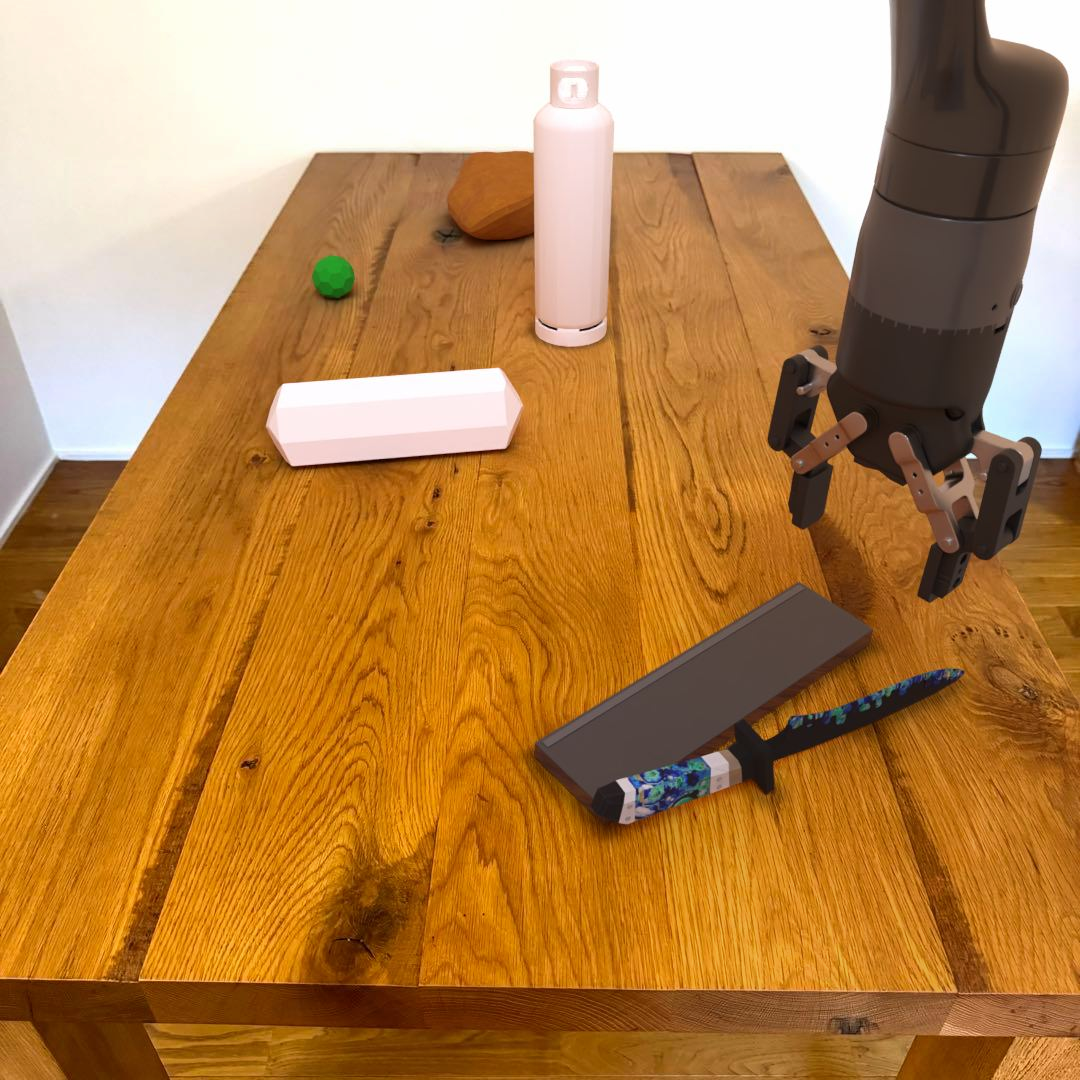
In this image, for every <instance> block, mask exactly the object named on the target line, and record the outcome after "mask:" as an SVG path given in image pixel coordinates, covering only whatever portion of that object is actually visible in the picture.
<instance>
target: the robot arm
mask: <svg viewBox="0 0 1080 1080" xmlns="http://www.w3.org/2000/svg"><path fill="white" fill-rule="evenodd" d="M888 5H889V7H888V8H889V29H890V30H889V34H890V35H889V37H890V93H889V94H890V95H889V103H888V109H887V114H886V120H885V125H884V128H883V134H882V139H881V143H880V150H879V154H878V160H877V164H876V171H875V175H874V181H873V186H872V190H871V194H870V198H869V202H868V205H867V208H866V210H865V213H864V216H863V220H862V222H861V226H860V229H859V232H858V236H857V241H856V245H855V253H854V257H853V262H852V267H851V273H850V279H849V283H848V289H847V294H846V300H845V305H844V310H843V316H842V320H841V326H840V332H839V336H838V343H837V348H836V354H835V363H834V362H832V361H830V360H829V353H828V351H827V349H826V348H825V347H824V346H823V345H820V344H816V345H813V346H811V347H809V348H807V349H805V350H803V351H801V352H798V353H797V354H795V355H792V356H790V357H787V358H785V360H784V361H783V363H782V367H781V372H780V376H779V381H778V386H777V390H776V396H775V400H774V404H773V409H772V413H771V419H770V424H769V429H768V432H767V436H766V437H767V438H766V439H767V440H766V441H767V444H768V446H769V447H770V449H771V450H773V451H774V452H783V453H784V454H785V455H786V456H787V457H788V459H790V466H791V469H792V470H793V472H792V473H793V474H792V479H791V486H790V491H789V496H788V502H787V506H788V511H789V514H791V516H792V517H791V525H793V526H794V527H797V528H799V529H800V530H802V531H804V530H806V529H808V528H810V527H811V526H812V525H814V524H816V523H817V522H819V521H820V520H821V519H822V518H823V516H824V514H825V512H826V511H825V510H826V507H827V506H826V505H827V501H828V496H829V490H830V485H831V480H832V476H833V471H834V465H832V464H831V463H829V460H831V459H833V458H834V457H835V456H837V455H839V454H840V453H842V452H844V450H846V449H847V450H848V452H849V453H850V454H851V455H852V456H853V462H854V463H855V464H858V465H860V466H861V467H863V468H866V469H870V470H875V471H878V472H880V473H881V474H882V475H883V476H885V477H886V478H887V479H888V480H890V481H891V482H893V483H894V484H897V485H899V486H901V487H904V486H906V485H907V486H908V489H909V491H910V495H911V496H912V500H913V502H914V505H915V507H916V510H917V511H918V512H919V513H920V514H924V515H925V516H926V517H927V520H928V522H929V525H930V528H931V530H932V533H933V536H934V538H935V542H934V543H932V544H931V545H930V549H929V551H928V554H927V558H926V562H925V565H924V569H923V571H922V572H923V573H922V576H921V579H920V583H919V587H918V590H917V593H916V595H917V598H920V599H922V600H923V601H925V602H927V603H928V604H931V603H933V602H934V601H936V600H937V599H938V598H939V599H941V600H942V599H944V598H945V597H946V596H948V595H949V594H950V593H952V592H953V591H955V590H956V589H957V588H958V587H960V585H961V584H962V583H963V580H964V578H965V574H966V571H967V568H968V565H969V561H970V559H971V556H972V554H973V555H974V556H975V557H976V558H977V559H979V560H981V561H990V560H991V559H992V558H994V557H995V556H997V554H999V552H1001V551H1002V550H1004V549H1005V548H1006V547H1007V546H1009V545H1011V544H1013V543H1014V542H1015V541H1017V540H1018V539H1019V538H1020V535H1021V531H1022V529H1023V525H1024V524H1023V523H1024V520H1025V516H1026V513H1027V510H1028V505H1029V501H1030V499H1031V498H1030V497H1031V494H1032V490H1033V486H1034V483H1035V479H1036V475H1037V472H1038V468H1039V465H1040V460H1041V457H1042V452H1043V449H1042V445H1041V443H1040V441H1039V440H1037V439H1036V438H1035V437H1032V436H1024V437H1022V438H1020V439H1019V440H1017V441H1014V440H1011V439H1009V438H1007V437H1004V436H1000V435H998V434H995V433H993V432H990V431H987V430H986V425H985V421H984V416H983V413H984V405H985V403H986V400H987V397H988V395H989V393H990V390H991V388H992V385H993V382H994V378H995V376H996V371H997V368H998V364H999V361H1000V359H1001V358H1000V357H1001V354H1002V351H1003V348H1004V345H1005V341H1006V336H1007V333H1008V331H1009V328H1010V324H1011V321H1012V317H1013V315H1014V314H1013V313H1014V311H1015V307H1016V305H1017V304H1018V302H1019V300H1020V298H1021V295H1022V292H1023V288H1024V284H1023V283H1024V282H1023V280H1024V275H1025V273H1026V270H1027V267H1028V262H1029V258H1030V254H1031V249H1032V248H1031V247H1032V243H1033V234H1034V226H1035V221H1036V216H1037V211H1038V207H1039V203H1040V199H1041V196H1042V193H1043V190H1044V186H1045V183H1046V179H1047V175H1048V172H1049V168H1050V166H1051V162H1052V158H1053V155H1054V151H1055V147H1056V145H1057V141H1058V137H1059V134H1060V132H1061V128H1062V124H1063V120H1064V117H1065V113H1066V108H1067V104H1068V100H1069V93H1070V79H1069V73H1068V70H1067V68H1066V67H1065V65H1064V64H1063V63H1062V61H1061V60H1060V59H1058V58H1057V56H1054V55H1053V54H1051V53H1050V52H1047V51H1045V50H1044V49H1041V48H1036V47H1034V46H1030V45H1028V44H1025V43H1020V42H1015V41H1009V40H1005V39H999V38H994V37H991V34H990V29H989V24H988V20H987V19H988V18H987V11H986V0H888ZM825 391H826V395H827V398H828V402H829V404H830V406H831V407H830V408H831V409H832V412H833V415H834V417H835V421H836V424H834V425H832V427H830V428H828V429H826V431H824V432H823V433H821V434H820V435H819V436H815V434H813V432H812V428H813V424H814V420H815V415H816V411H817V408H818V403H819V400H820V396H821V393H823V392H825ZM970 454H972V455H973V456H975V457H976V459H977V460H978V463H979V474H978V480H979V481H980V482H982V483H985V485H984V489H983V493H982V497H981V502H980V506H978V503H977V501H976V498H975V496H974V490H975V487H976V481H975V478H974V476H973V473H972V470H971V468H970V465H969V462H968V460H967V456H969V455H970ZM941 472H943V477H944V479H943V482H942V484H940V485H939V486H938V485H937V483H936V480H935V478H934V476H937V475H938V474H939V473H941Z"/></svg>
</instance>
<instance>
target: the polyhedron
mask: <svg viewBox="0 0 1080 1080" xmlns="http://www.w3.org/2000/svg"><path fill="white" fill-rule="evenodd" d="M311 279H312V283H313V286H314V288H315V290H316V291H317V292H318V293H319V294H321V295H322V296H323V297H326V298H329V299H336V300H337V299H340V298H342V297H344V296H345V295H347V294H348V293H350V292H351V291H352V288H353V286H354V283H355V280H356V275H355V271H354V268H353V266H352V264H351V263H350V262H349V261H348V260H347V259H346V258H344V257H342V256H339V255H331V254H329V255H327V256H324V257H323V258H321V259H319V260H318V261H317V262H316V263H315V266H314V268H313V271H312V274H311Z"/></svg>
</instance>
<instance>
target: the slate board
mask: <svg viewBox="0 0 1080 1080" xmlns="http://www.w3.org/2000/svg"><path fill="white" fill-rule="evenodd" d="M873 633H874V628H873V627H871V626H869V624H867V623H865V622H863V621H862V620H860V619H859V618H857V617H855V616H854V615H852V614H851V613H849V612H847V611H846V610H845V609H843V608H842V607H840V606H838V605H836V604H835V603H834V602H832V601H831V600H829V599H828V598H826V597H824V596H823V595H821V594H819V593H818V592H817V591H815V590H813V589H811V588H810V587H809V586H807V585H805V584H803V583H802V582H800V581H797V582H796V583H794V584H792V585H791V586H790V587H787V588H786V589H784V590H783V591H781V592H780V593H778V594H777V595H775V596H773V597H771V598H770V599H768V600H766V601H765V602H763V603H762V604H760V605H758V606H757V607H755V608H754V609H752V610H750V611H748V612H746V613H745V614H743V615H741V616H740V617H738V618H737V619H735V620H734V621H732V622H730V623H729V624H727V625H726V626H724V627H722V628H720V629H719V630H717V631H715V632H713V634H710V635H709V636H708V637H705V638H704V639H702V640H701V641H699V642H698V643H696V644H694V645H692V646H691V647H689V648H688V649H686V650H684V651H683V652H681V653H679V654H678V655H676V656H675V657H673V658H671V659H669V660H668V661H666V662H665V663H662V665H660V666H658V667H656V668H654V669H653V670H652V671H650V672H648V673H646V674H645V675H643V676H641V677H640V678H639V679H637V680H635V681H634V682H631V683H630V684H629V685H627V686H625V687H624V688H622V689H620V690H619V691H617V692H616V693H614V694H612V695H611V696H609V697H607V698H605V699H604V700H602V701H601V702H599V703H598V704H596V705H594V706H592V707H591V708H589V709H588V710H586V711H584V712H582V713H581V714H579V715H577V716H576V717H574V718H573V719H571V720H569V721H568V722H566V723H565V724H563V725H561V726H560V727H558V728H556V729H555V730H553V731H552V732H550V733H548V734H547V735H545V736H543V737H541V738H540V739H539V740H536V741H535V742H534V758H535V759H536V761H538V763H540V764H541V766H543V767H544V768H545V769H546V770H547V771H548V772H549V773H550V775H552V776H553V777H554V778H555V779H556V781H558V782H559V783H560V784H561V785H562V786H563V787H564V788H565V789H566V790H567V791H568V792H569V793H571V794H572V796H574V797H575V798H576V800H577V801H579V802H580V803H581V804H582V805H583V807H585V808H586V809H587V811H589V812H590V813H591V814H592V815H593V816H594V817H595V818H596V819H597V820H598V821H599V822H600V823H601V824H602V825H603V826H605V827H606V826H608V825H609V824H611V823H612V822H613V821H611V820H609V819H606V818H604V817H601V816H599V815H597V814H596V813H595V812H594V810H593V809H592V808H591V802H592V800H593V798H594V795H595V793H596V791H597V789H598V788H599V787H602V786H605V785H607V784H609V783H611V782H613V781H616V780H619V779H622V778H627V777H630V776H634V775H637V774H641V773H645V772H648V771H652V770H655V769H659V768H662V767H666V766H669V765H673V764H677V763H680V762H684V761H687V760H691V759H694V758H698V757H701V756H705V755H708V754H712V753H715V752H716V751H717V750H718V749H719V748H721V747H722V746H724V745H725V744H727V743H728V742H730V741H731V740H733V739H735V732H734V723H736V722H738V721H740V720H741V719H744V720H745V721H746V722H747V723H748V724H749V725H750V726H751V727H752V726H753V725H754V724H756V723H757V722H759V721H760V720H762V719H763V718H765V717H766V716H768V715H769V714H770V713H772V712H773V711H775V710H776V709H778V708H779V707H780V706H782V705H784V704H785V703H786V702H788V701H789V700H790V699H792V698H793V697H795V696H796V695H798V694H799V693H801V692H802V691H804V690H805V689H806V688H808V687H810V686H811V685H812V684H814V683H815V682H817V681H818V680H819V679H821V678H823V677H824V676H826V674H828V673H830V672H831V671H832V670H834V669H835V668H837V667H838V666H841V664H843V663H844V662H846V661H847V660H848V659H850V658H851V657H853V656H854V655H856V654H858V653H859V652H860V651H861V650H863V649H865V648H867V646H869V645H870V644H871V641H872V638H873V637H872V636H873Z"/></svg>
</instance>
